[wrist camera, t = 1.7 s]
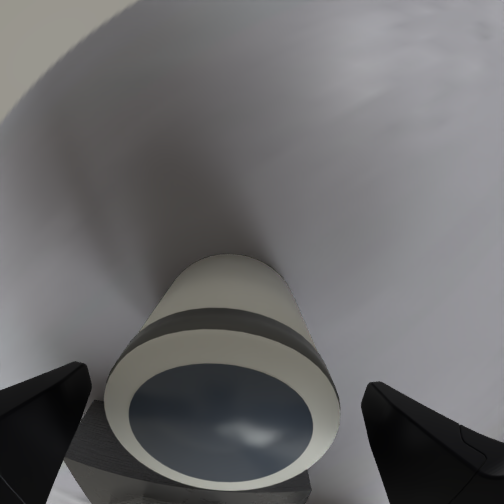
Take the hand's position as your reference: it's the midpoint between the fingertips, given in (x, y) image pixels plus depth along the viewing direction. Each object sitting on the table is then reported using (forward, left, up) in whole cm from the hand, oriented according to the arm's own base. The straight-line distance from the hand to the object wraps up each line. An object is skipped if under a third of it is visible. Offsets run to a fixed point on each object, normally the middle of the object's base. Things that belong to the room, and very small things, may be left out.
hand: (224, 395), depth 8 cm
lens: (0, 0, -5) cm, 5 cm away
